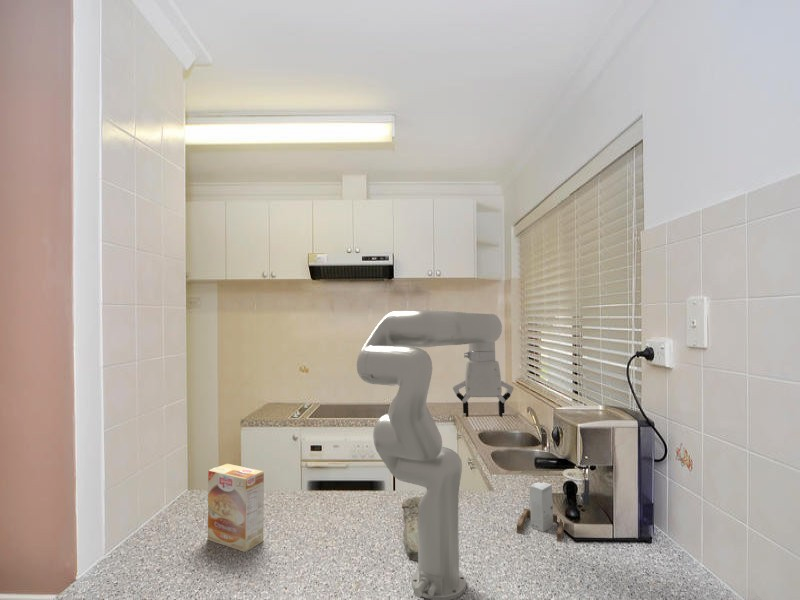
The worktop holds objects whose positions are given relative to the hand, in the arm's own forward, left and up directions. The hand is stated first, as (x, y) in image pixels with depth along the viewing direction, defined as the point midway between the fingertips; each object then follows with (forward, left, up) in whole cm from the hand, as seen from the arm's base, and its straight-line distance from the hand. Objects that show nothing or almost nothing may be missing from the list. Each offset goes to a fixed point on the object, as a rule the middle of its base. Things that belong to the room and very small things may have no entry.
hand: (483, 415), depth 128 cm
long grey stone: (-5, +19, -34) cm, 39 cm away
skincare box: (+12, -14, -34) cm, 39 cm away
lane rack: (+11, -14, -34) cm, 38 cm away
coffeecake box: (-33, +63, -34) cm, 79 cm away
